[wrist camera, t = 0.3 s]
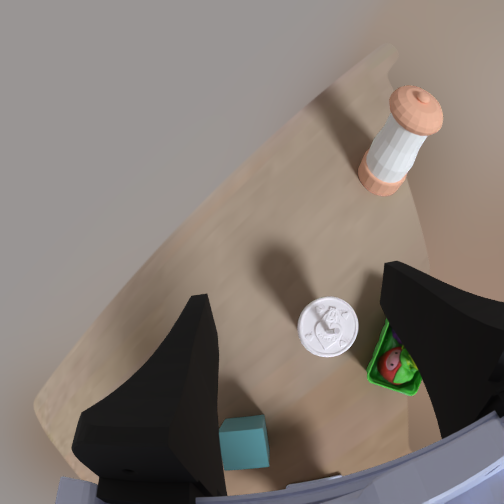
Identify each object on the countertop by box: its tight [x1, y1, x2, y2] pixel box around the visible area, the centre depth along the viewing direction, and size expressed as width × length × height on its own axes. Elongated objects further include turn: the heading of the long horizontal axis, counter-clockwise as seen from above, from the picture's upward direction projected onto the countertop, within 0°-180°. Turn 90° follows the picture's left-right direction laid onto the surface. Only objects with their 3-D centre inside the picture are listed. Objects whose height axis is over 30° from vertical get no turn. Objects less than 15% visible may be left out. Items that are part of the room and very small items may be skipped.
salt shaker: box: [358, 85, 443, 196], centre depth 36 cm, size 7×7×19 cm
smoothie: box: [297, 296, 358, 357], centre depth 33 cm, size 6×6×14 cm
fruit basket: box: [366, 318, 422, 396], centre depth 32 cm, size 11×9×11 cm
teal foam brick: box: [219, 415, 270, 470], centre depth 33 cm, size 5×5×7 cm
